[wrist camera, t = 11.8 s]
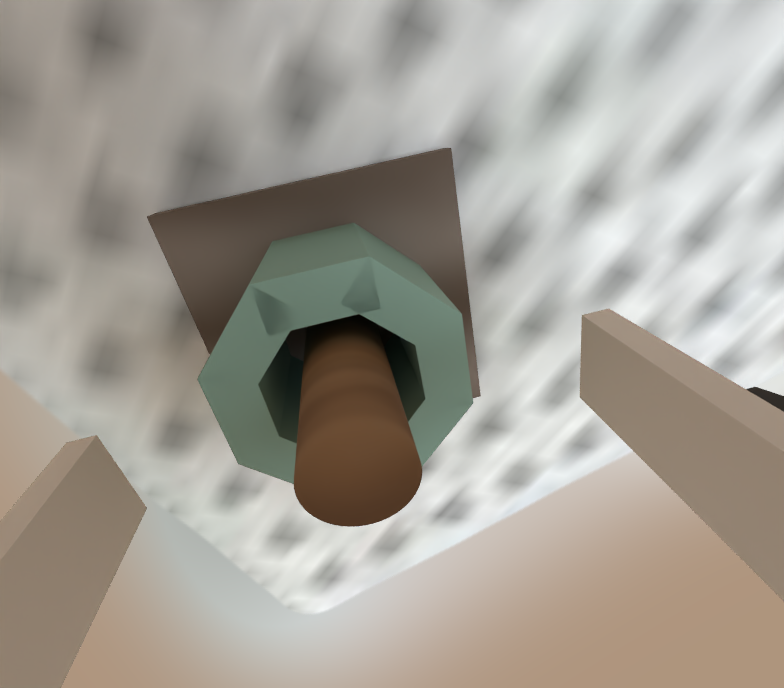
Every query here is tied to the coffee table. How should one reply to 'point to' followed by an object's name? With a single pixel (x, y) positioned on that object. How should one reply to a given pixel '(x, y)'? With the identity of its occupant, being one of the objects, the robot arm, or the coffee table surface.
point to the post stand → (337, 337)
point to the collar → (322, 304)
